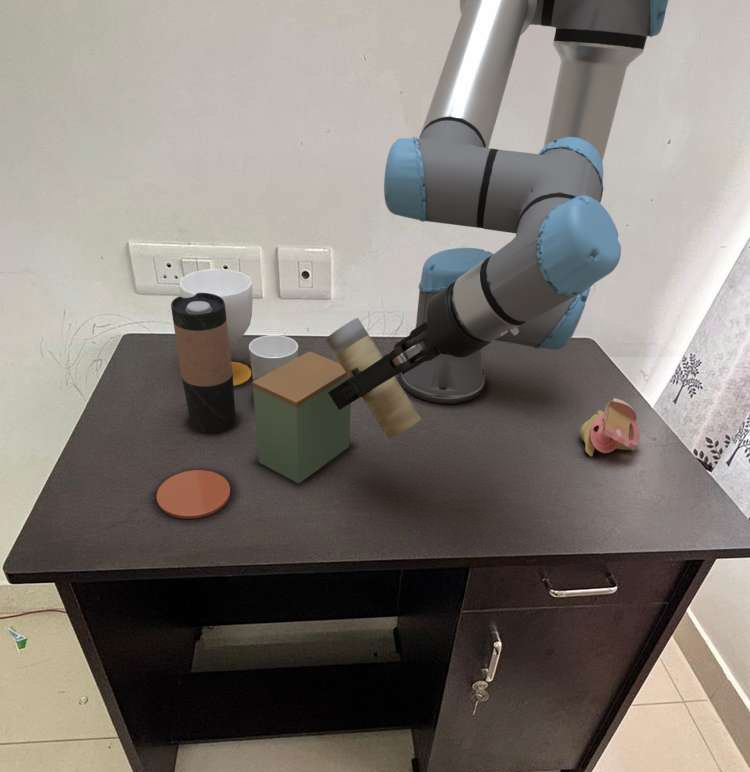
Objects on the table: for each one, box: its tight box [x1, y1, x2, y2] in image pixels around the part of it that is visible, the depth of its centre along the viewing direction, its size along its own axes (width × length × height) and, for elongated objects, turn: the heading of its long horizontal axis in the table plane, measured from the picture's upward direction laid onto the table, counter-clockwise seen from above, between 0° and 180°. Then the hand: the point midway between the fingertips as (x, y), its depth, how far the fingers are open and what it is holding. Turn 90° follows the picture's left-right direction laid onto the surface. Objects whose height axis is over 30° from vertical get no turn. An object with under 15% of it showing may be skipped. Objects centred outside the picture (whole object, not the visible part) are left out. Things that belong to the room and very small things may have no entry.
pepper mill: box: [324, 317, 422, 440], centre depth 81 cm, size 14×5×14 cm, turn 54°
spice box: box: [251, 351, 352, 484], centre depth 93 cm, size 8×12×14 cm, turn 144°
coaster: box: [156, 469, 231, 520], centre depth 88 cm, size 10×10×1 cm
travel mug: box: [170, 293, 236, 434], centre depth 96 cm, size 8×8×20 cm
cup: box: [178, 268, 254, 387], centre depth 109 cm, size 12×12×17 cm
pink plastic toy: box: [579, 397, 640, 457], centre depth 101 cm, size 9×10×10 cm
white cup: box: [248, 334, 299, 382], centre depth 106 cm, size 8×8×10 cm
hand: (348, 391), depth 85 cm, fingers closed on pepper mill, 5 cm apart
